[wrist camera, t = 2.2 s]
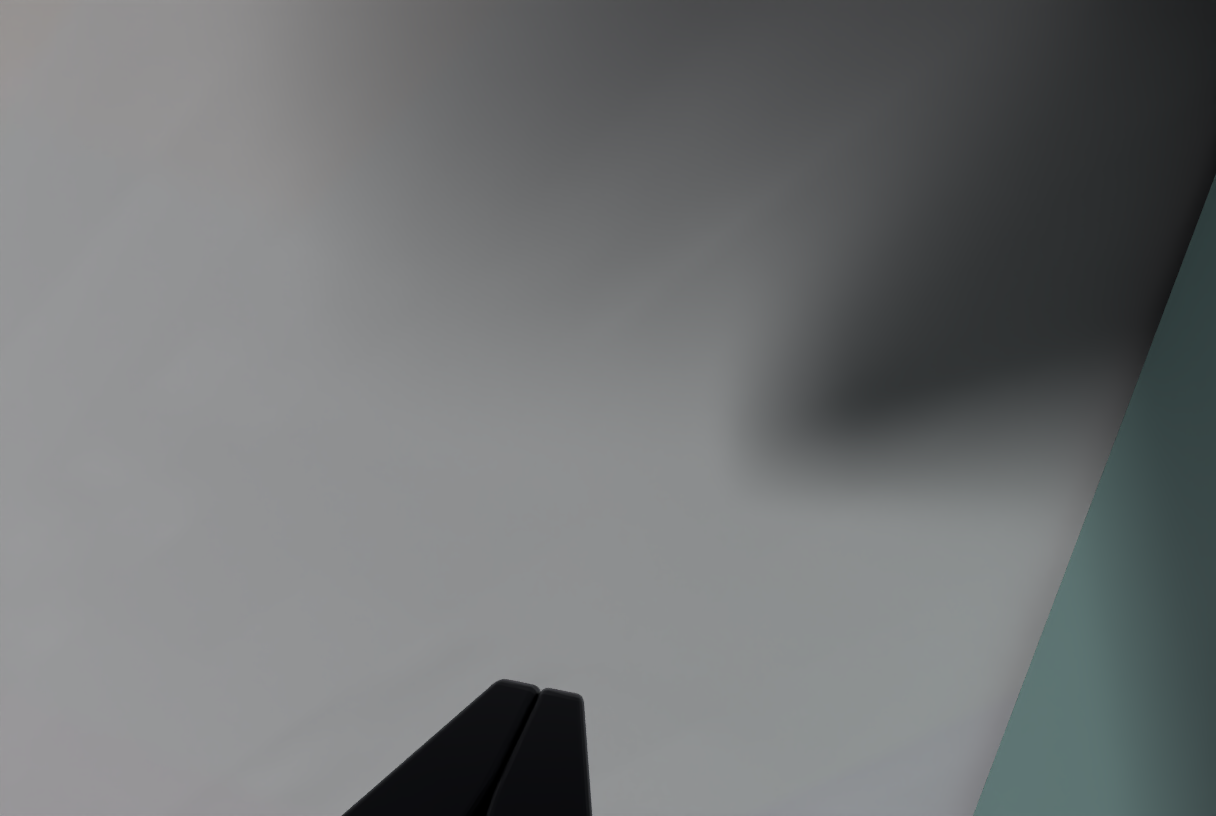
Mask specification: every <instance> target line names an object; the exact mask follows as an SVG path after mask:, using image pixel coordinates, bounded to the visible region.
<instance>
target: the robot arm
mask: <svg viewBox="0 0 1216 816" xmlns="http://www.w3.org/2000/svg"><path fill="white" fill-rule="evenodd" d="M342 816H592V806H591V793H590V779H589V765H588V752H587V738H586V724H585V711H584V701H583V698H582V696H580V695H579V694H576V693H571V692H567V691H562V690H557V689H552V688H545V689H543V690H542V691H540V689H539V688H538V687H537V686H535V685H532V684H527V683H523V682H518V681H513V680H508V679H502V680H499V681H497V682H495V683H494V684H492V685H491V686H490V687H489V688H488V689H487V690H486V691H484V692H483V693H482V694H481V695H480V696H479V697H478V698H476V699H475V700H474V701H473V702H472V703H471V704H470V705H468V706H467V707H466V708H465V709H464V710H463V711H461V712H460V713H459V714H458V715H457V716H456V717H455V718H453V719H452V720H451V721H450V722H449V723H448V724H447V725H445V726H444V727H443V728H442V729H441V730H440V731H438V732H437V733H436V734H435V735H434V736H433V737H432V738H430V739H429V740H428V741H427V742H426V743H425V744H424V745H422V746H421V747H420V748H419V749H418V750H417V751H415V752H414V753H413V754H412V755H411V756H410V757H409V758H407V759H406V760H405V761H404V762H403V763H402V764H401V765H399V766H398V767H397V768H396V769H395V770H394V771H392V772H391V773H390V774H389V775H388V776H387V777H386V778H384V779H383V780H382V781H381V782H380V783H379V784H378V785H376V786H375V787H374V788H373V789H372V790H371V791H370V792H368V793H367V794H366V795H365V796H364V797H363V798H361V799H360V800H359V801H358V802H357V803H356V804H355V805H353V806H352V807H351V808H350V809H349V810H348V811H347V812H345V813H344V814H343V815H342Z"/></svg>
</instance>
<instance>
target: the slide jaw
mask: <svg viewBox="0 0 1216 816" xmlns="http://www.w3.org/2000/svg"><path fill="white" fill-rule="evenodd" d="M973 816H1216V175H1215V178H1214V180H1213V183H1212V186H1211V188H1210V191H1209V194H1208V196H1207V199H1206V202H1205V204H1204V207H1203V209H1202V212H1201V215H1200V217H1199V220H1198V223H1197V225H1196V228H1195V231H1194V233H1193V236H1192V239H1191V241H1190V244H1189V246H1188V249H1187V252H1186V254H1185V257H1184V260H1183V262H1182V265H1181V268H1180V270H1179V273H1178V276H1177V278H1176V281H1175V283H1174V286H1173V289H1172V291H1171V294H1170V297H1169V299H1168V302H1167V305H1166V307H1165V310H1164V313H1163V315H1162V318H1161V320H1160V323H1159V326H1158V328H1157V331H1156V334H1155V336H1154V339H1153V342H1152V344H1151V347H1150V350H1149V352H1148V355H1147V357H1146V360H1145V363H1144V365H1143V368H1142V371H1141V373H1140V376H1139V379H1138V381H1137V384H1136V387H1135V389H1134V392H1133V395H1132V397H1131V400H1130V402H1129V405H1128V408H1127V410H1126V413H1125V416H1124V418H1123V421H1122V424H1121V426H1120V429H1119V432H1118V434H1117V437H1116V439H1115V442H1114V445H1113V447H1112V450H1111V453H1110V455H1109V458H1108V461H1107V463H1106V466H1105V469H1104V471H1103V474H1102V476H1101V479H1100V482H1099V484H1098V487H1097V490H1096V492H1095V495H1094V498H1093V500H1092V503H1091V506H1090V508H1089V511H1088V513H1087V516H1086V519H1085V521H1084V524H1083V527H1082V529H1081V532H1080V535H1079V537H1078V540H1077V543H1076V545H1075V548H1074V550H1073V553H1072V556H1071V558H1070V561H1069V564H1068V566H1067V569H1066V572H1065V574H1064V577H1063V580H1062V582H1061V585H1060V587H1059V590H1058V593H1057V595H1056V598H1055V601H1054V603H1053V606H1052V609H1051V611H1050V614H1049V617H1048V619H1047V622H1046V625H1045V627H1044V630H1043V632H1042V635H1041V638H1040V640H1039V643H1038V646H1037V648H1036V651H1035V654H1034V656H1033V659H1032V662H1031V664H1030V667H1029V669H1028V672H1027V675H1026V677H1025V680H1024V683H1023V685H1022V688H1021V691H1020V693H1019V696H1018V699H1017V701H1016V704H1015V706H1014V709H1013V712H1012V714H1011V717H1010V720H1009V722H1008V725H1007V728H1006V730H1005V733H1004V736H1003V738H1002V741H1001V743H1000V746H999V749H998V751H997V754H996V757H995V759H994V762H993V765H992V767H991V770H990V773H989V775H988V778H987V780H986V783H985V786H984V788H983V791H982V794H981V796H980V799H979V802H978V804H977V807H976V810H975V812H974V815H973Z"/></svg>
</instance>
